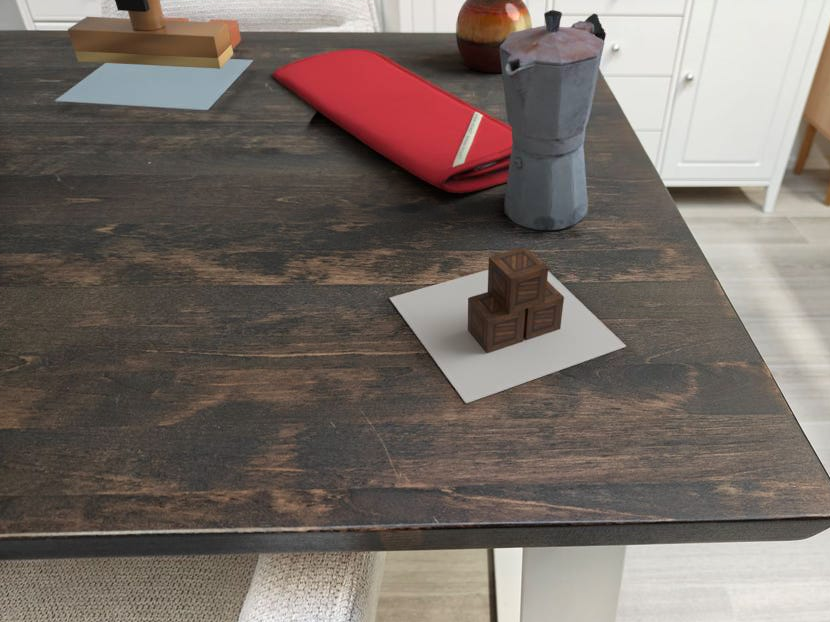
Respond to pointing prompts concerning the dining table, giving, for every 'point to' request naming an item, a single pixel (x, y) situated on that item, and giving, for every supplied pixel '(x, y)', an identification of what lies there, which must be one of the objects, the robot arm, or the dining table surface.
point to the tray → (156, 85)
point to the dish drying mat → (404, 118)
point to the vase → (488, 30)
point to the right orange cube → (231, 30)
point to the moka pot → (549, 119)
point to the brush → (151, 40)
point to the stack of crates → (504, 325)
